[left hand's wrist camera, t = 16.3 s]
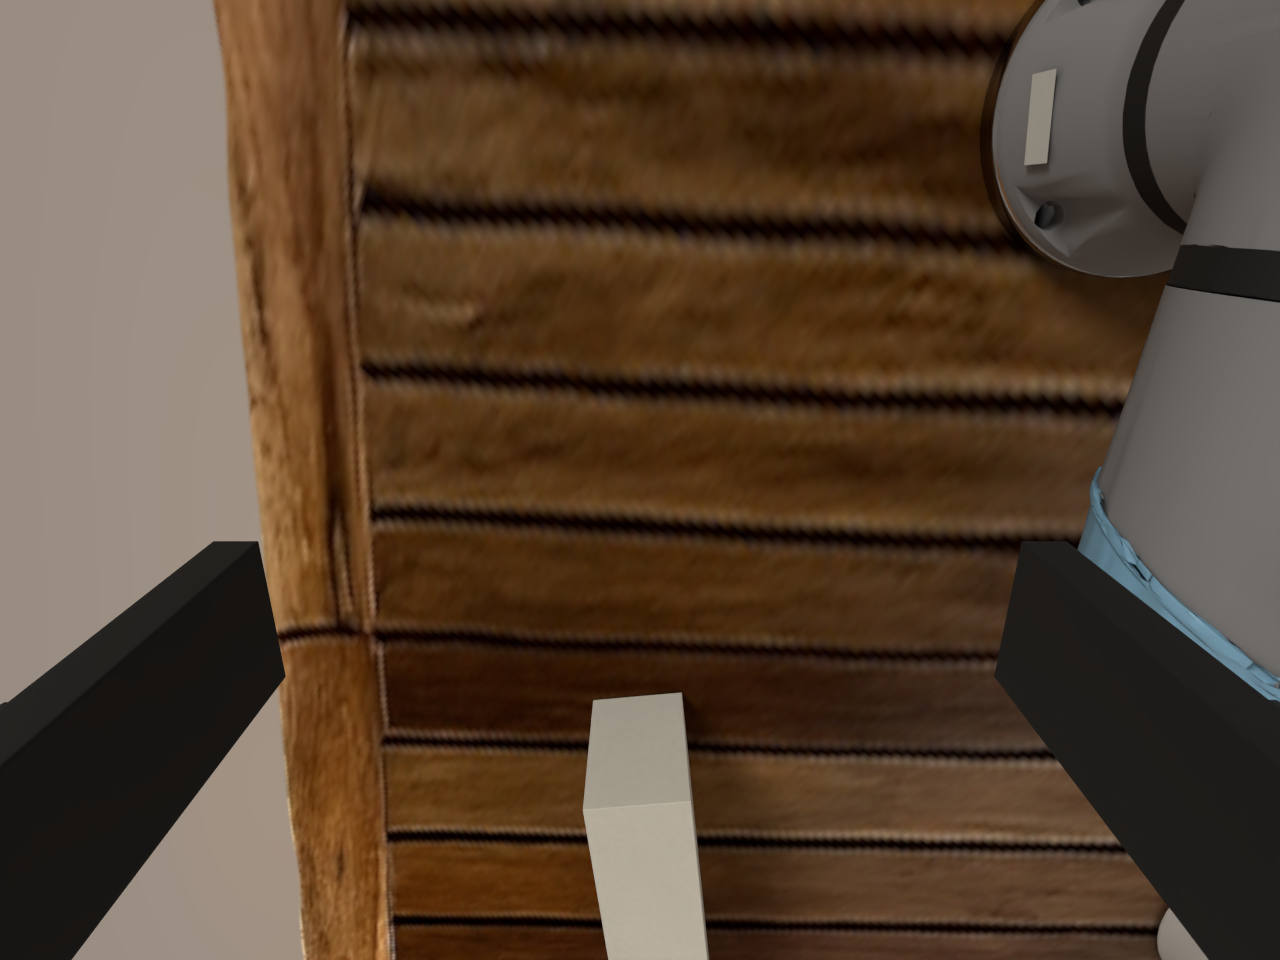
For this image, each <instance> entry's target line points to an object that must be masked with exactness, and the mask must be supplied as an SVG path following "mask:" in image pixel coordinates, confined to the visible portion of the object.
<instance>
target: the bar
mask: <svg viewBox="0 0 1280 960" xmlns="http://www.w3.org/2000/svg"><path fill="white" fill-rule="evenodd" d="M583 814H584V819H585V825H586V831H587V837H588V843H589V849H590V855H591V860H592V866H593V872H594V878H595V884H596V890H597V895H598V901H599V907H600V913H601V919H602V925H603V930H604V936H605V942H606V948H607V954H608V960H709V954H708V944H707V935H706V925H705V915H704V905H703V895H702V885H701V876H700V866H699V856H698V846H697V836H696V826H695V817H694V807H693V797H692V787H691V777H690V768H689V758H688V748H687V738H686V728H685V718H684V709H683V699H682V693H670V694H659V695H647V696H636V697H624V698H613V699H602V700H593V709H592V719H591V730H590V741H589V751H588V762H587V772H586V783H585V793H584V804H583Z"/></svg>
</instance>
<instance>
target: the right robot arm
mask: <svg viewBox="0 0 1280 960" xmlns="http://www.w3.org/2000/svg"><path fill="white" fill-rule="evenodd" d="M1157 947H1158V952H1159V955H1160V957H1161V960H1208V958H1207V957H1206V956H1205V954H1204V953H1203V952H1202V950H1201V949H1200V948H1199V946H1198V945H1197V944H1196V942H1195V941H1194V940H1193V939H1192V937H1191V936H1190V935H1189V933H1188V932H1187V931H1186V929H1185V928H1184V927H1183V925H1182V924H1181V923H1180V921H1179V920H1178V919H1177V917H1176V916H1175V915H1174V913H1173V912H1172V911H1171V909H1170V908H1168V910H1167V911H1166V913H1165V915H1164V917H1163V919H1162V921H1161V924H1160V926H1159V930H1158V935H1157Z"/></svg>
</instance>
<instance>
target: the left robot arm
mask: <svg viewBox="0 0 1280 960" xmlns="http://www.w3.org/2000/svg"><path fill="white" fill-rule="evenodd" d="M980 154H981V165H982V170H983V176H984V181H985V184H986V188H987V191H988V194H989V197H990V199H991V202H992V204H993V207H994V209H995V210H996V212H997V214H998V216H999V218H1000V220H1001V221H1002V222H1003V224H1004V225H1005V227H1006V228H1007V230H1008V231H1009V232H1010V233H1011V234H1012V236H1013V237H1014V238H1015V239H1016V240H1017V241H1018V242H1019V243H1020V244H1021V245H1022V246H1024V247H1025V248H1026V249H1027V250H1028V251H1030V252H1031V253H1033V254H1034V255H1035V256H1037V257H1038V258H1040V259H1042V260H1044V261H1046V262H1048V263H1050V264H1052V265H1055V266H1057V267H1060V268H1062V269H1066V270H1070V271H1073V272H1079V273H1085V274H1092V275H1098V276H1105V277H1121V278H1122V277H1138V276H1145V275H1152V274H1156V273H1160V272H1164V271H1168V270H1171V269H1172V271H1171V274H1170V277H1169V280H1168V282H1167V284H1168V285H1165V288H1164V291H1163V294H1162V296H1161V299H1160V302H1159V305H1158V308H1157V311H1156V314H1155V317H1154V320H1153V323H1152V326H1151V328H1150V331H1149V334H1148V337H1147V340H1146V343H1145V346H1144V349H1143V352H1142V355H1141V358H1140V361H1139V363H1138V366H1137V369H1136V372H1135V375H1134V378H1133V381H1132V384H1131V387H1130V390H1129V393H1128V395H1127V398H1126V401H1125V404H1124V407H1123V410H1122V413H1121V416H1120V419H1119V422H1118V425H1117V427H1116V430H1115V433H1114V436H1113V438H1112V441H1111V444H1110V446H1109V449H1108V452H1107V455H1106V457H1105V460H1104V463H1103V465H1102V467H1099V468H1098V469H1097V471H1096V473H1095V475H1094V477H1093V480H1092V483H1091V485H1090V501H1091V503H1090V507H1089V511H1088V515H1087V519H1086V523H1085V526H1084V530H1083V534H1082V537H1081V540H1080V544H1079V547H1078V550H1077V549H1075V548H1074V547H1073V546H1072V545H1070V544H1069V543H1068V542H1067V541H1022V543H1021V548H1020V553H1019V558H1018V563H1017V568H1016V573H1015V578H1014V583H1013V588H1012V593H1011V597H1010V602H1009V607H1008V612H1007V617H1006V622H1005V627H1004V632H1003V637H1002V642H1001V647H1000V651H999V656H998V661H997V666H996V671H995V676H994V677H995V678H996V679H997V681H998V682H999V683H1000V685H1001V686H1002V687H1003V688H1004V690H1005V691H1006V692H1007V694H1008V695H1009V696H1010V698H1011V699H1012V700H1013V702H1014V703H1015V704H1016V706H1017V707H1018V708H1019V710H1020V711H1021V712H1022V714H1023V715H1024V716H1025V718H1026V719H1027V720H1028V722H1029V723H1030V724H1031V726H1032V727H1033V728H1034V729H1035V731H1036V732H1037V733H1038V735H1039V736H1040V737H1041V739H1042V740H1043V741H1044V743H1045V744H1046V745H1047V747H1048V748H1049V749H1050V751H1051V752H1052V753H1053V755H1054V756H1055V757H1056V759H1057V760H1058V761H1059V763H1060V764H1061V765H1062V767H1063V768H1064V769H1065V771H1066V772H1067V773H1068V774H1069V776H1070V777H1071V778H1072V780H1073V781H1074V782H1075V784H1076V785H1077V786H1078V788H1079V789H1080V790H1081V792H1082V793H1083V794H1084V796H1085V797H1086V798H1087V800H1088V801H1089V802H1090V804H1091V805H1092V806H1093V808H1094V809H1095V810H1096V812H1097V813H1098V814H1099V815H1100V817H1101V818H1102V819H1103V821H1104V822H1105V823H1106V825H1107V826H1108V827H1109V829H1110V830H1111V831H1112V833H1113V834H1114V835H1115V837H1116V838H1117V839H1118V841H1119V842H1120V843H1121V845H1122V846H1123V847H1124V849H1125V850H1126V851H1127V853H1128V854H1129V855H1130V856H1131V858H1132V859H1133V860H1134V862H1135V863H1136V864H1137V866H1138V867H1139V868H1140V870H1141V871H1142V872H1143V874H1144V875H1145V876H1146V878H1147V879H1148V880H1149V882H1150V883H1151V884H1152V886H1153V887H1154V888H1155V890H1156V891H1157V892H1158V894H1159V895H1160V896H1161V897H1162V899H1163V900H1164V901H1165V903H1166V904H1167V905H1168V907H1169V908H1170V909H1171V911H1172V912H1173V913H1174V915H1175V916H1176V917H1177V919H1178V920H1179V921H1180V923H1181V924H1182V925H1183V927H1184V928H1185V929H1186V931H1187V932H1188V933H1189V935H1190V936H1191V937H1192V939H1193V940H1194V941H1195V942H1196V944H1197V945H1198V946H1199V948H1200V949H1201V950H1202V952H1203V953H1204V954H1205V956H1206V957H1207V958H1208V960H1280V0H1036V1H1035V2H1034V3H1033V4H1032V6H1031V7H1030V8H1029V9H1028V11H1027V12H1026V13H1025V14H1024V16H1023V17H1022V19H1021V20H1020V22H1019V23H1018V25H1017V26H1016V28H1015V29H1014V31H1013V32H1012V34H1011V36H1010V38H1009V39H1008V41H1007V43H1006V45H1005V47H1004V49H1003V51H1002V53H1001V55H1000V57H999V59H998V61H997V64H996V66H995V69H994V72H993V74H992V77H991V80H990V83H989V86H988V90H987V94H986V97H985V102H984V107H983V112H982V120H981V129H980ZM285 677H286V676H285V671H284V666H283V661H282V656H281V651H280V647H279V642H278V637H277V632H276V627H275V622H274V617H273V612H272V607H271V602H270V597H269V593H268V588H267V583H266V578H265V573H264V568H263V563H262V558H261V553H260V548H259V543H258V541H241V542H240V541H232V542H231V541H220V542H219V541H214V542H212V543H211V544H210V545H208V546H207V547H206V548H205V549H203V550H202V551H201V552H199V553H198V554H197V555H196V556H194V557H193V558H192V559H190V560H189V561H188V562H187V563H185V564H184V565H183V566H182V567H180V568H179V569H178V570H176V571H175V572H174V573H173V574H171V575H170V576H169V577H167V578H166V579H165V580H164V581H162V582H161V583H160V584H159V585H157V586H156V587H155V588H154V589H152V590H151V591H150V592H148V593H147V594H146V595H145V596H143V597H142V598H141V599H139V600H138V601H137V602H136V603H134V604H133V605H132V606H131V607H129V608H128V609H127V610H125V611H124V612H123V613H122V614H120V615H119V616H118V617H116V618H115V619H114V620H113V621H111V622H110V623H109V624H107V625H106V626H105V627H104V628H102V629H101V630H100V631H99V632H97V633H96V634H95V635H93V636H92V637H91V638H90V639H88V640H87V641H86V642H84V643H83V644H82V645H81V646H79V647H78V648H77V649H76V650H74V651H73V652H72V653H70V654H69V655H68V656H67V657H65V658H64V659H63V660H62V661H60V662H59V663H58V664H56V665H55V666H54V667H53V668H51V669H50V670H49V671H47V672H46V673H45V674H44V675H42V676H41V677H40V678H38V679H37V680H36V681H35V682H33V683H32V684H31V685H30V686H28V687H27V688H26V689H24V690H23V691H22V692H21V693H19V694H18V695H17V696H16V697H14V698H13V699H12V700H10V701H9V702H5V703H2V704H1V705H0V960H72V958H73V957H74V956H75V954H76V953H77V952H78V950H79V949H80V948H81V946H82V945H83V944H84V942H85V941H86V940H87V938H88V937H89V936H90V935H91V933H92V932H93V931H94V929H95V928H96V927H97V925H98V924H99V923H100V921H101V920H102V919H103V917H104V916H105V915H106V913H107V912H108V911H109V909H110V908H111V907H112V905H113V904H114V903H115V901H116V900H117V899H118V897H119V896H120V895H121V894H122V892H123V891H124V890H125V888H126V887H127V886H128V884H129V883H130V882H131V880H132V879H133V878H134V876H135V875H136V874H137V872H138V871H139V870H140V868H141V867H142V866H143V864H144V863H145V862H146V860H147V859H148V858H149V856H150V855H151V854H152V852H153V851H154V850H155V849H156V847H157V846H158V845H159V843H160V842H161V841H162V839H163V838H164V837H165V835H166V834H167V833H168V831H169V830H170V829H171V827H172V826H173V825H174V823H175V822H176V821H177V819H178V818H179V817H180V815H181V814H182V813H183V812H184V810H185V809H186V808H187V806H188V805H189V803H190V802H191V801H192V800H193V798H194V797H195V796H196V794H197V793H198V792H199V790H200V789H201V788H202V786H203V785H204V784H205V782H206V781H207V780H208V778H209V777H210V776H211V774H212V773H213V772H214V771H215V769H216V768H217V767H218V765H219V764H220V762H221V761H222V760H223V759H224V757H225V756H226V755H227V753H228V752H229V751H230V749H231V748H232V747H233V745H234V744H235V743H236V741H237V740H238V739H239V737H240V736H241V735H242V733H243V732H244V731H245V729H246V728H247V727H248V726H249V724H250V723H251V722H252V720H253V719H254V718H255V716H256V715H257V714H258V712H259V711H260V710H261V708H262V707H263V706H264V704H265V703H266V702H267V700H268V699H269V698H270V696H271V695H272V694H273V692H274V691H275V690H276V688H277V687H278V686H279V685H280V683H281V682H282V681H283V679H284V678H285Z"/></svg>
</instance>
